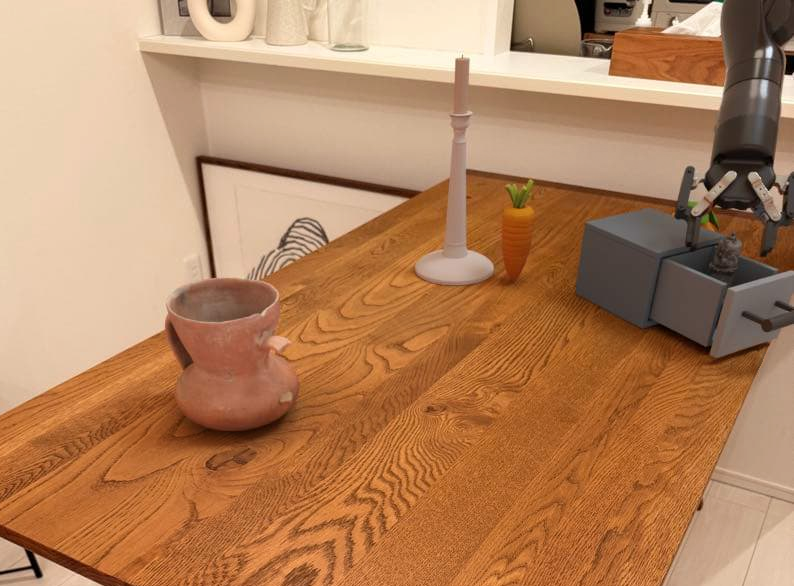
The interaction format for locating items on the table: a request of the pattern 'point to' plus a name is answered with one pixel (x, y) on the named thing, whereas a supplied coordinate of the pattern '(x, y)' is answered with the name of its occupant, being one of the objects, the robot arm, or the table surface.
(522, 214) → the carrot
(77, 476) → the table surface
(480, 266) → the candlestick
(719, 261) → the salt shaker
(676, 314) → the drawer
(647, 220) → the cabinet
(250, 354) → the ceramic jug
